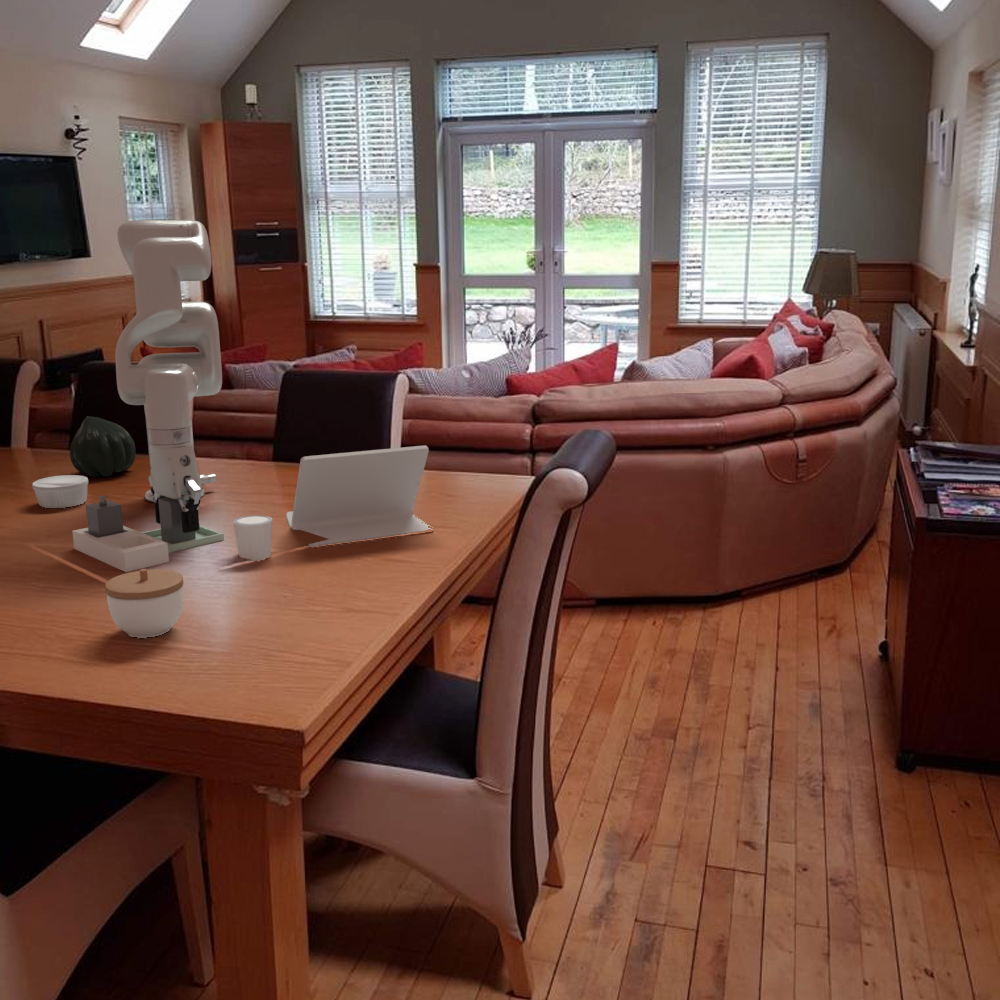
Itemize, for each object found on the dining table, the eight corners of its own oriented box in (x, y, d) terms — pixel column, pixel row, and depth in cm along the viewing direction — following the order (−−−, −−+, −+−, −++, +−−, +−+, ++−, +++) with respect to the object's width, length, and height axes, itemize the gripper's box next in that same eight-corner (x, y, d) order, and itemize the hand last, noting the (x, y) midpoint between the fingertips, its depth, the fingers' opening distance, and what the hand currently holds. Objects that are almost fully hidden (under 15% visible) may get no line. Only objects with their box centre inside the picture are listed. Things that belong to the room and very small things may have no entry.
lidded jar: (121, 619, 157) (115, 559, 155) (193, 616, 158) (188, 557, 156) (100, 646, 147) (94, 582, 145) (178, 643, 148) (173, 580, 146)
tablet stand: (435, 533, 203) (433, 447, 199) (309, 549, 193) (304, 459, 189) (403, 512, 219) (401, 432, 215) (285, 526, 209) (280, 442, 204)
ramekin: (37, 513, 219) (34, 488, 218) (32, 501, 229) (30, 478, 227) (93, 506, 224) (91, 483, 223) (87, 495, 234) (84, 472, 232)
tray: (191, 530, 205) (190, 522, 204) (224, 542, 196) (223, 533, 196) (133, 543, 196) (132, 534, 196) (165, 556, 188) (164, 547, 188)
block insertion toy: (116, 542, 197) (110, 488, 194) (169, 564, 183) (164, 506, 181) (74, 551, 191) (68, 495, 189) (126, 575, 178) (120, 515, 175)
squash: (155, 450, 255) (122, 402, 257) (103, 464, 243) (69, 413, 245) (130, 483, 263) (99, 435, 265) (79, 497, 251) (47, 447, 253)
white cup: (281, 553, 190) (279, 516, 188) (261, 564, 183) (259, 526, 182) (249, 550, 192) (246, 513, 190) (227, 560, 186) (225, 522, 184)
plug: (183, 535, 199) (179, 486, 197) (195, 539, 196) (191, 490, 194) (161, 540, 196) (157, 490, 194) (173, 544, 193) (169, 494, 191)
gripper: (213, 439, 188) (220, 531, 192) (165, 428, 200) (172, 515, 204) (175, 445, 183) (183, 539, 187) (128, 433, 195) (136, 522, 199)
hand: (177, 526), depth 195 cm, fingers open, 9 cm apart
